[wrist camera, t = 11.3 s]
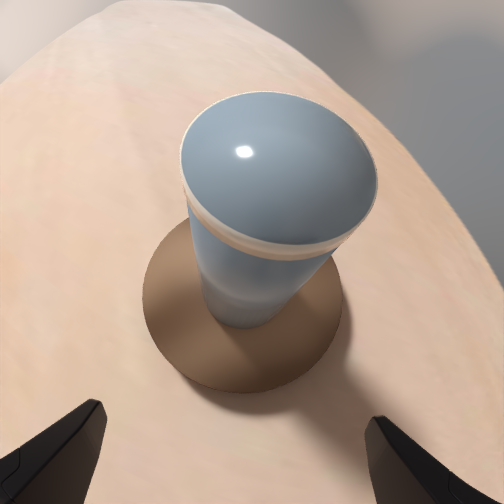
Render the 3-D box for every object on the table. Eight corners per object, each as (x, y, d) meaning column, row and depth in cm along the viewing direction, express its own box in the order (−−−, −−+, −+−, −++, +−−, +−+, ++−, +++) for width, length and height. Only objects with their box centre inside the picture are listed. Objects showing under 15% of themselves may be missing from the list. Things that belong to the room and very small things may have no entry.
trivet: (363, 329, 21) (378, 321, 19) (206, 425, 17) (202, 430, 15) (271, 197, 25) (274, 179, 23) (126, 266, 22) (116, 252, 20)
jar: (293, 321, 19) (406, 231, 7) (208, 336, 18) (190, 264, 6) (275, 243, 20) (337, 92, 9) (195, 254, 19) (174, 97, 8)
